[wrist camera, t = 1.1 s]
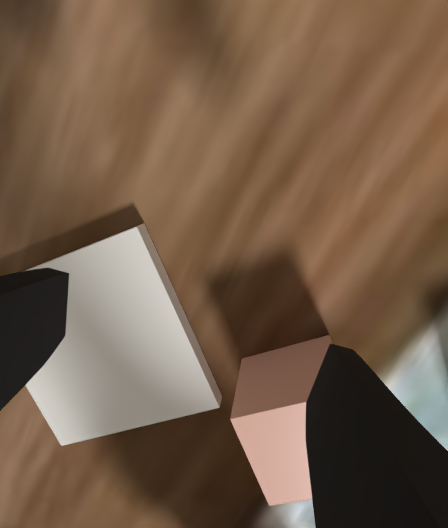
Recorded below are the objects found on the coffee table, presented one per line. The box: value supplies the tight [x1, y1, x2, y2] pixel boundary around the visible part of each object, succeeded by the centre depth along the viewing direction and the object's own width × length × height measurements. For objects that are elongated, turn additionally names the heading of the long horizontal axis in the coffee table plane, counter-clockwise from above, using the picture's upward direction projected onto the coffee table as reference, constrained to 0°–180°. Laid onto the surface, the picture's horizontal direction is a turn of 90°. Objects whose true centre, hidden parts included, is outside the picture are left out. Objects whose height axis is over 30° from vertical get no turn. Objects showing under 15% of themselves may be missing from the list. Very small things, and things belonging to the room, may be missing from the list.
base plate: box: [22, 223, 222, 446], centre depth 21 cm, size 11×11×1 cm
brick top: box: [230, 335, 332, 506], centre depth 18 cm, size 5×5×5 cm
